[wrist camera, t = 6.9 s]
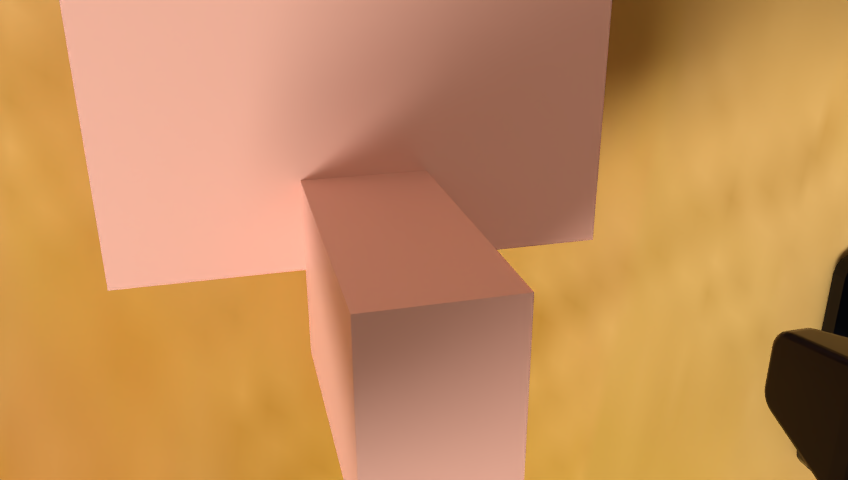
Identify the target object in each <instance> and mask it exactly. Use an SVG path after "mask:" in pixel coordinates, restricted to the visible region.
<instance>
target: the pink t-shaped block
mask: <svg viewBox="0 0 848 480" xmlns="http://www.w3.org/2000/svg"><path fill="white" fill-rule="evenodd" d="M59 1H60V7H61V13H62V19H63V25H64V31H65V37H66V43H67V49H68V55H69V61H70V67H71V73H72V79H73V85H74V91H75V97H76V103H77V109H78V115H79V121H80V127H81V133H82V139H83V144H84V150H85V156H86V162H87V168H88V174H89V180H90V186H91V192H92V198H93V204H94V210H95V216H96V222H97V228H98V234H99V240H100V246H101V252H102V258H103V264H104V270H105V276H106V282H107V288H108V290H118V289H127V288H137V287H146V286H156V285H165V284H175V283H184V282H194V281H203V280H213V279H222V278H232V277H241V276H251V275H260V274H270V273H279V272H289V271H298V270H306V279H307V294H308V310H309V325H310V341H311V353H312V357H313V361H314V364H315V368H316V372H317V376H318V380H319V384H320V388H321V392H322V396H323V400H324V404H325V408H326V412H327V416H328V420H329V424H330V427H331V431H332V435H333V439H334V443H335V447H336V451H337V455H338V459H339V463H340V467H341V471H342V475H343V479H344V480H524V471H525V453H526V434H527V415H528V396H529V378H530V359H531V340H532V321H533V303H534V292H533V291H532V290H531V288H530V287H529V286H528V285H527V284H526V283H525V282H524V280H523V279H522V278H521V277H520V276H519V275H518V274H517V273H516V271H515V270H514V269H513V268H512V267H511V266H510V265H509V263H508V262H507V261H506V260H505V259H504V258H503V257H502V256H501V254H500V253H499V252H498V251H497V250H498V249H507V248H517V247H526V246H536V245H545V244H555V243H564V242H574V241H583V240H593V229H594V216H595V204H596V192H597V180H598V167H599V155H600V143H601V130H602V118H603V106H604V94H605V81H606V69H607V57H608V45H609V32H610V20H611V8H612V0H59Z"/></svg>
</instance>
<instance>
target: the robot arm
mask: <svg viewBox="0 0 848 480" xmlns="http://www.w3.org/2000/svg"><path fill="white" fill-rule="evenodd" d="M765 398H766V402H767V404H768V407H769V409H770V411H771V412H772V414H773V415H774V417H775V418H776V420H777V421H778V423H779V424H780V425H781V427H782V428H783V430H784V431H785V433H786V434H787V436H788V437H789V439H790V440H791V442H792V443H793V445H794V446H795V448H796V449H797V457H798V459H799V460H800V461H801V462H802V463H803V464H804V465H805V466H806V467H807V468H808V469H810V470H811V471H812V473H813V474H814V476H815V477H816V479H817V480H848V255H847V256H846V257H844V258H843V259H842V260H841V261H840V262H839V263H838V264H837V266H836V268H835V271H834V273H833V278H832V283H831V288H830V293H829V297H828V302H827V307H826V312H825V317H824V322H823V326H822V331H820V330H817V329H812V328H804V329H797V330H791V331H785V332H782V333H780V334H779V335H778V336H777V337H776V338H775V340H774V342H773V346H772V351H771V357H770V362H769V368H768V373H767V379H766V384H765Z"/></svg>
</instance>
